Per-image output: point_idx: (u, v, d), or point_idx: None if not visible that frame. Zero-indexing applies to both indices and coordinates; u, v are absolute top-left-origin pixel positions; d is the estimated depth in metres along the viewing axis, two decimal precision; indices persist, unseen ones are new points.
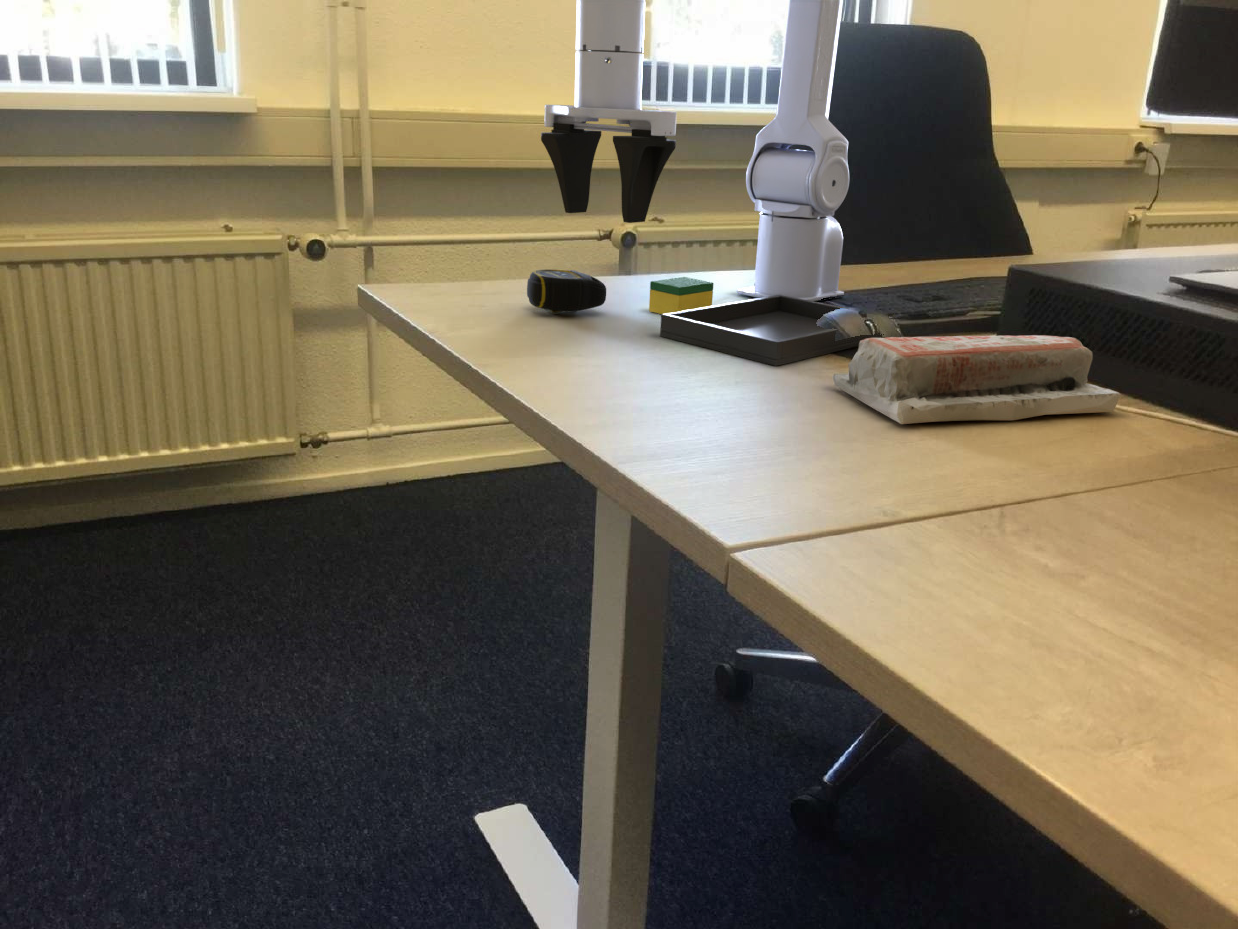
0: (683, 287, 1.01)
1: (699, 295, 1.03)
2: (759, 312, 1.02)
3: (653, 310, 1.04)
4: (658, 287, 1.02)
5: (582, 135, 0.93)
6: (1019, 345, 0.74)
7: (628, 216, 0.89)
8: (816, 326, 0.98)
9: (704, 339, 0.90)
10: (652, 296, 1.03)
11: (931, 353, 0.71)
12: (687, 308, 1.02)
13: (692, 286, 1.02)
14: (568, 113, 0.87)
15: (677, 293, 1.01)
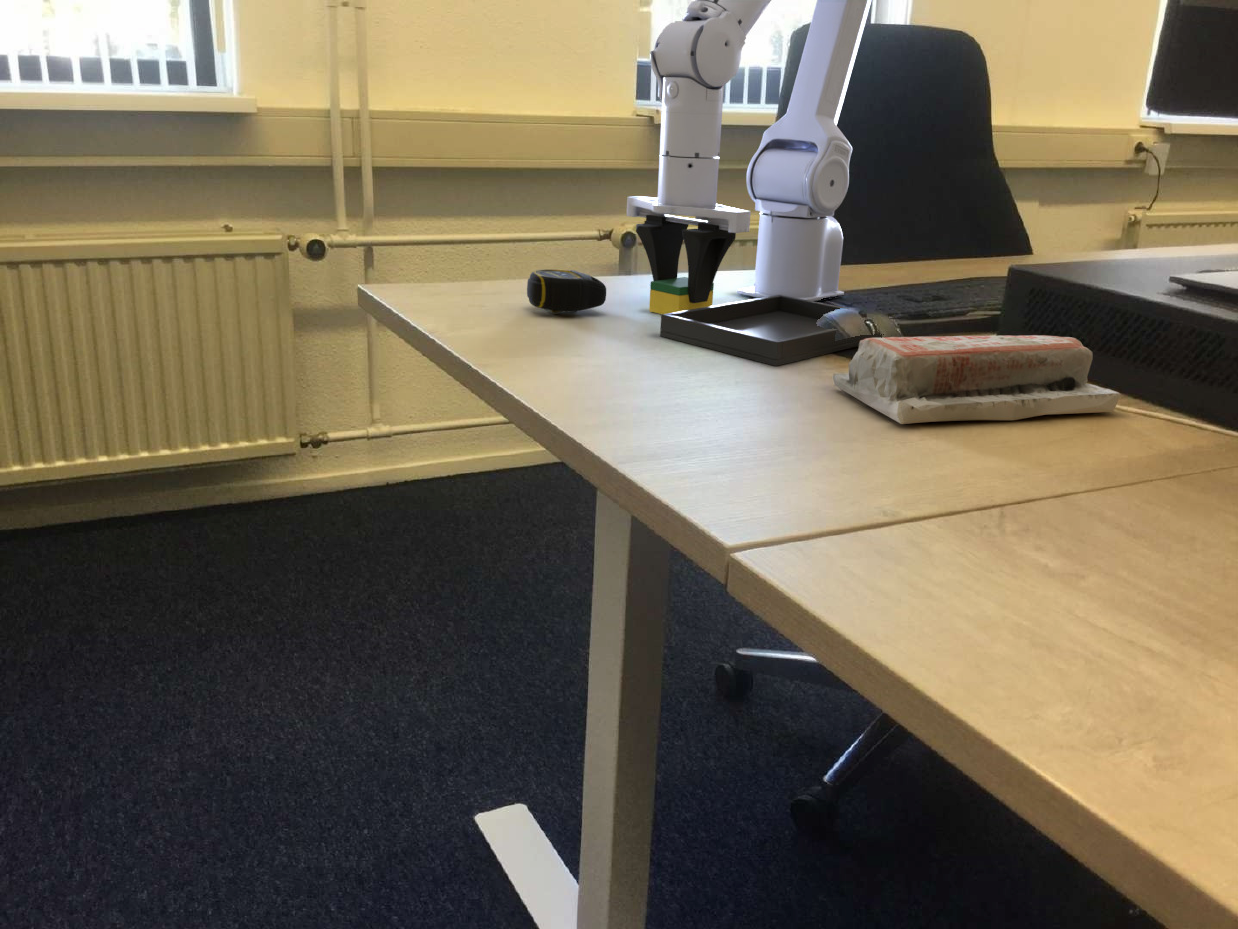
0: (683, 287, 1.01)
1: None
2: (759, 312, 1.02)
3: (653, 310, 1.04)
4: (658, 287, 1.02)
5: (672, 226, 1.03)
6: (1019, 345, 0.74)
7: (693, 297, 1.01)
8: (816, 326, 0.98)
9: (704, 339, 0.90)
10: (652, 296, 1.03)
11: (931, 353, 0.71)
12: (687, 308, 1.02)
13: None
14: (653, 210, 0.99)
15: (677, 293, 1.01)
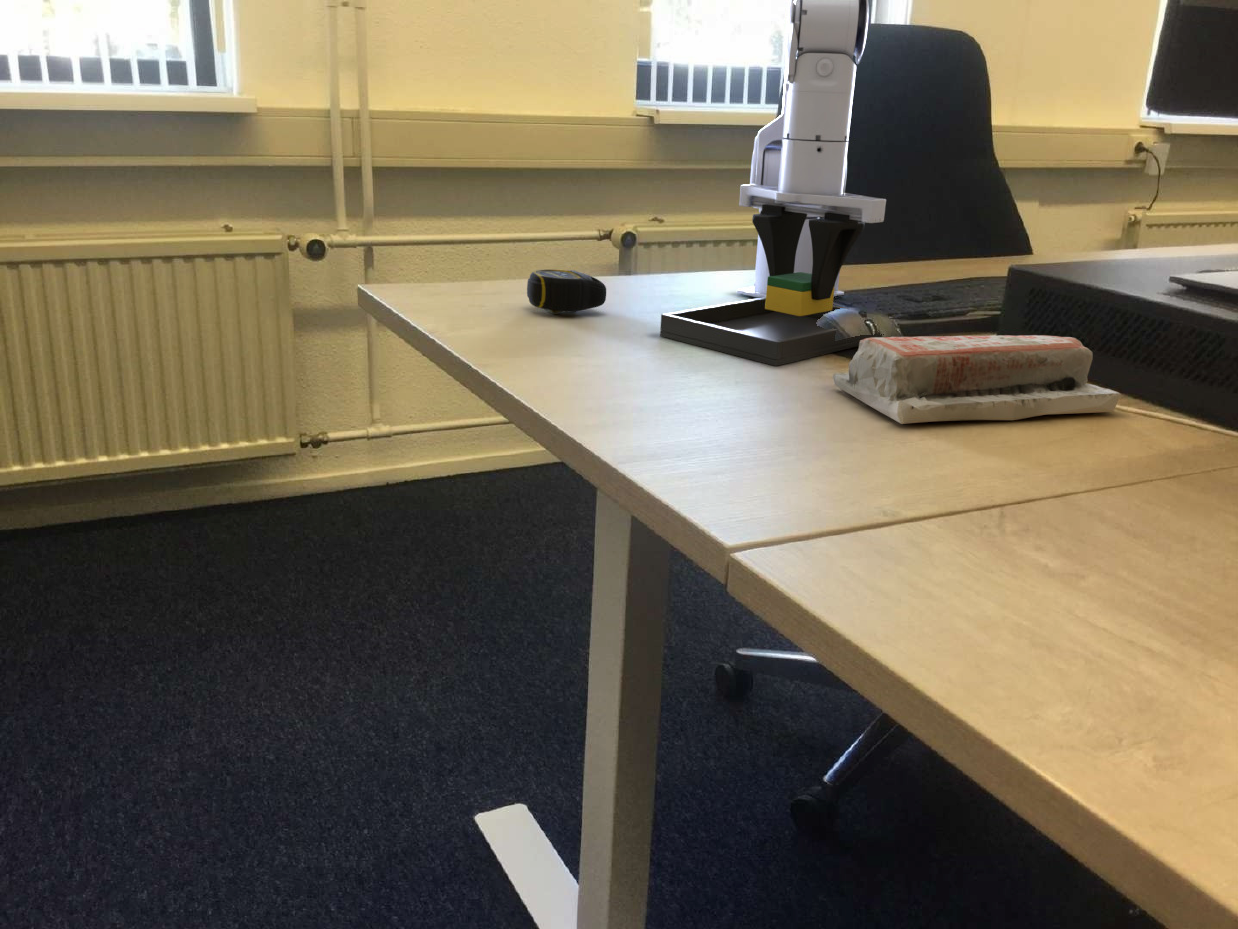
0: (806, 283, 0.93)
1: None
2: (759, 312, 1.02)
3: (770, 308, 0.95)
4: (777, 283, 0.94)
5: (791, 217, 0.95)
6: (1019, 345, 0.74)
7: (817, 294, 0.93)
8: (816, 326, 0.98)
9: (704, 339, 0.90)
10: (769, 293, 0.95)
11: (931, 353, 0.71)
12: (809, 306, 0.94)
13: None
14: (777, 199, 0.91)
15: (800, 289, 0.93)
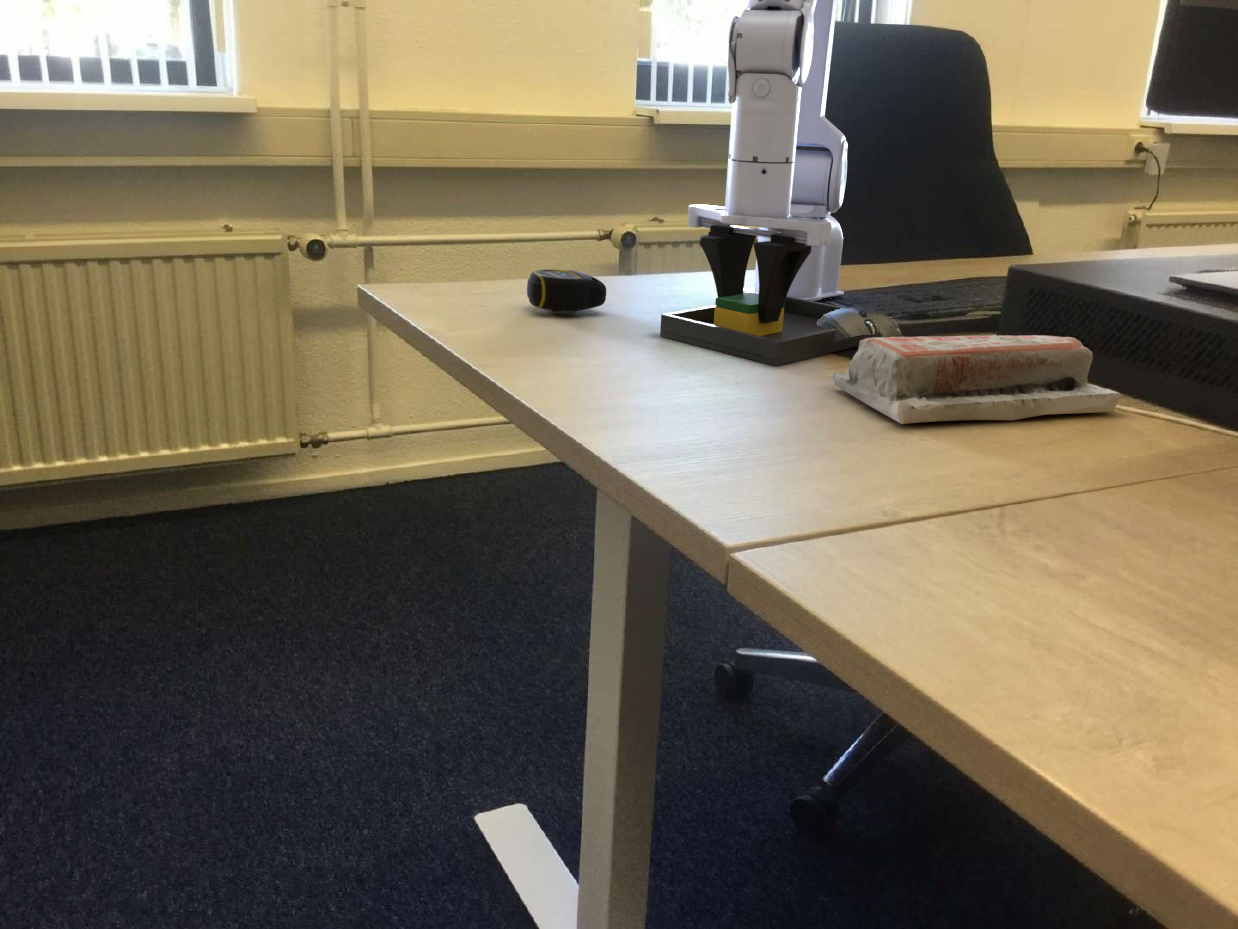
0: (753, 305, 0.91)
1: None
2: None
3: None
4: (725, 304, 0.93)
5: (739, 238, 0.94)
6: (1019, 345, 0.74)
7: (764, 317, 0.92)
8: (816, 326, 0.98)
9: (704, 339, 0.90)
10: (717, 314, 0.94)
11: (931, 353, 0.71)
12: (757, 328, 0.92)
13: None
14: (722, 221, 0.89)
15: (747, 311, 0.91)
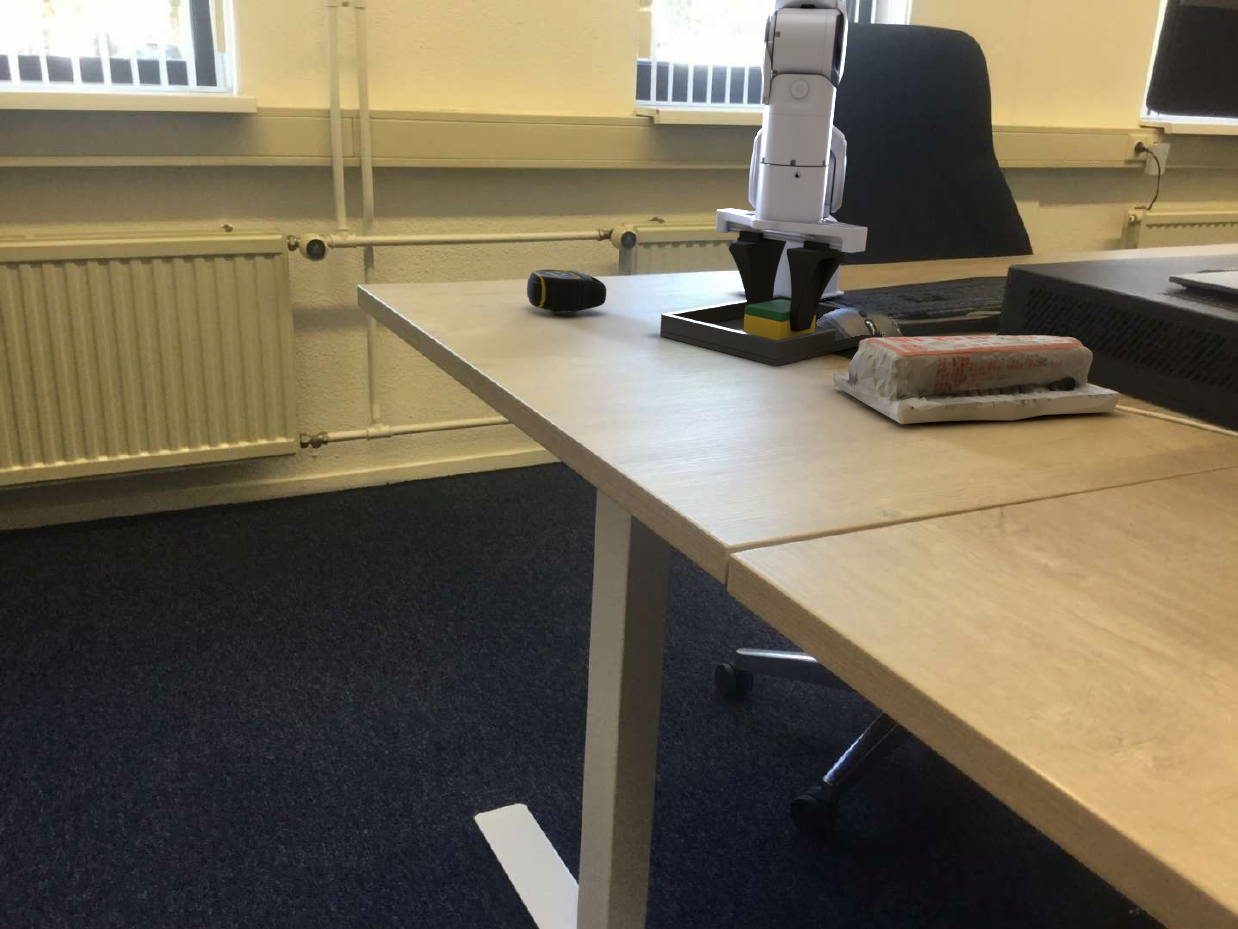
0: (785, 312, 0.88)
1: None
2: None
3: None
4: (755, 312, 0.90)
5: (770, 244, 0.91)
6: (1019, 345, 0.74)
7: (796, 325, 0.89)
8: (816, 326, 0.98)
9: (704, 339, 0.90)
10: (747, 322, 0.91)
11: (931, 353, 0.71)
12: (789, 336, 0.89)
13: None
14: (753, 226, 0.86)
15: (779, 319, 0.88)
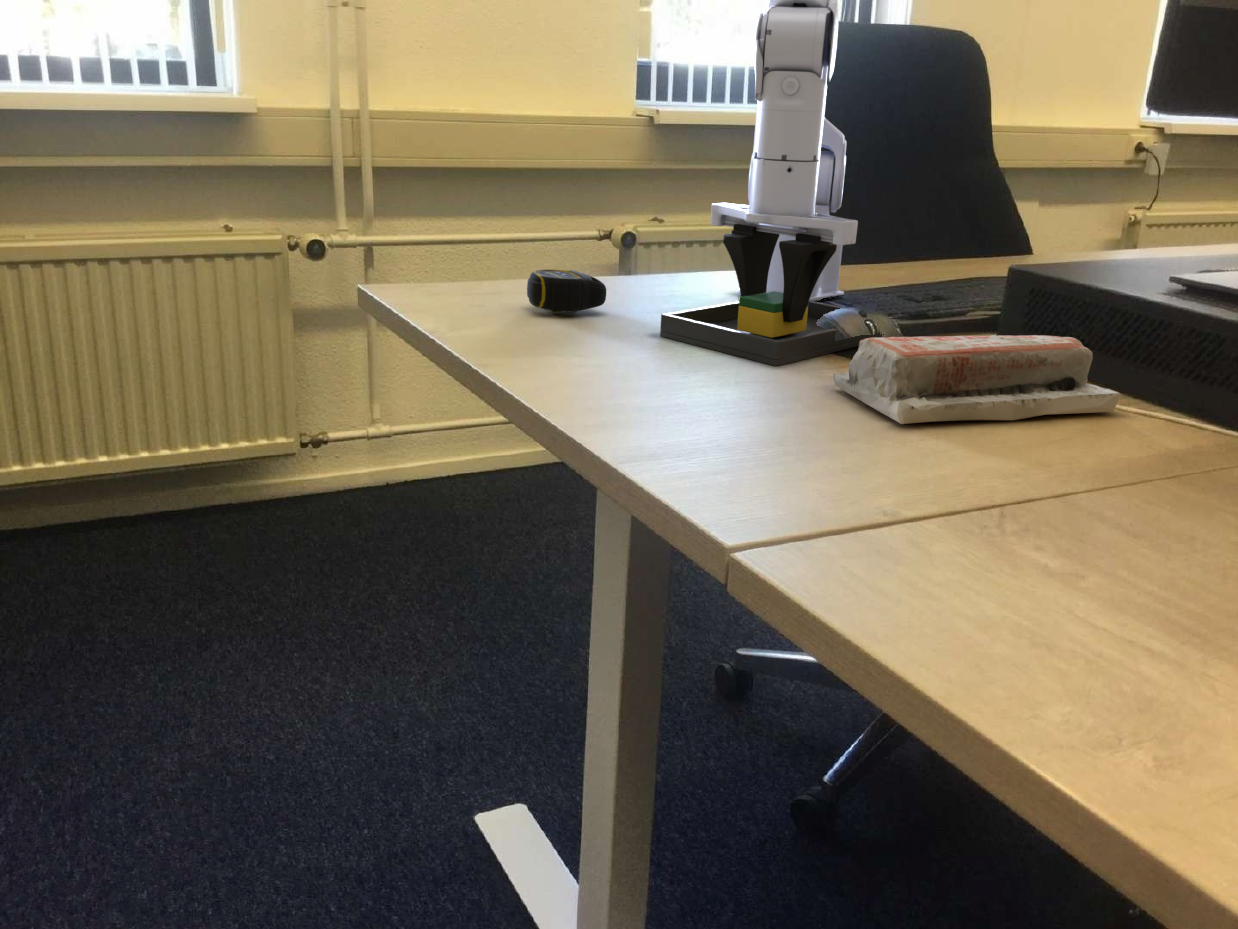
0: (778, 303, 0.91)
1: None
2: None
3: (742, 329, 0.93)
4: (749, 303, 0.92)
5: (763, 237, 0.93)
6: (1019, 345, 0.74)
7: (788, 316, 0.91)
8: (816, 326, 0.98)
9: (704, 339, 0.90)
10: (741, 313, 0.93)
11: (931, 353, 0.71)
12: (781, 327, 0.92)
13: None
14: (746, 219, 0.88)
15: (772, 310, 0.90)
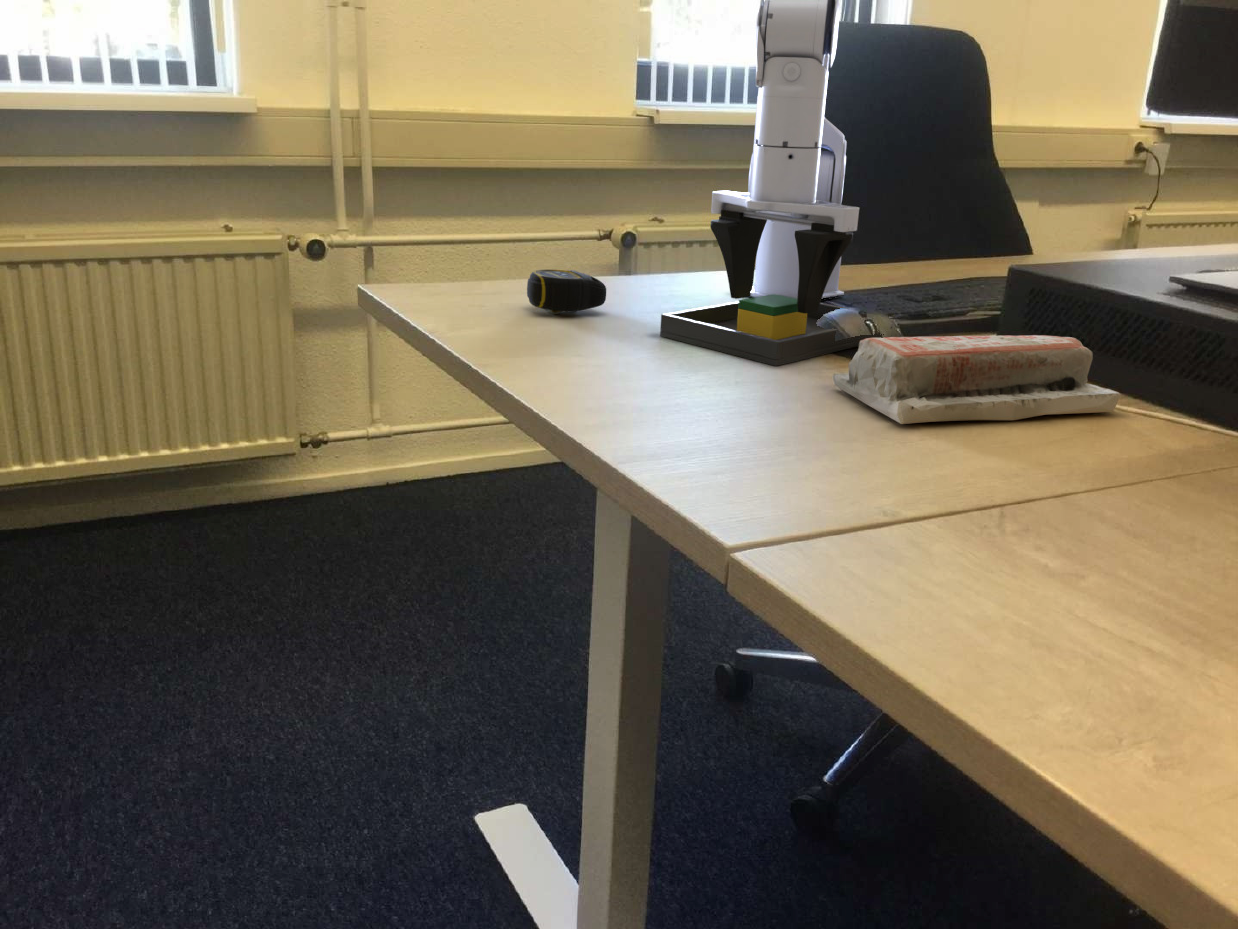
0: (778, 307, 0.91)
1: (793, 315, 0.92)
2: None
3: None
4: (748, 306, 0.92)
5: (750, 222, 0.94)
6: (1019, 345, 0.74)
7: (804, 307, 0.90)
8: (816, 326, 0.98)
9: (704, 339, 0.90)
10: (741, 316, 0.93)
11: (931, 353, 0.71)
12: (781, 330, 0.92)
13: (787, 305, 0.92)
14: (747, 207, 0.88)
15: (771, 313, 0.91)
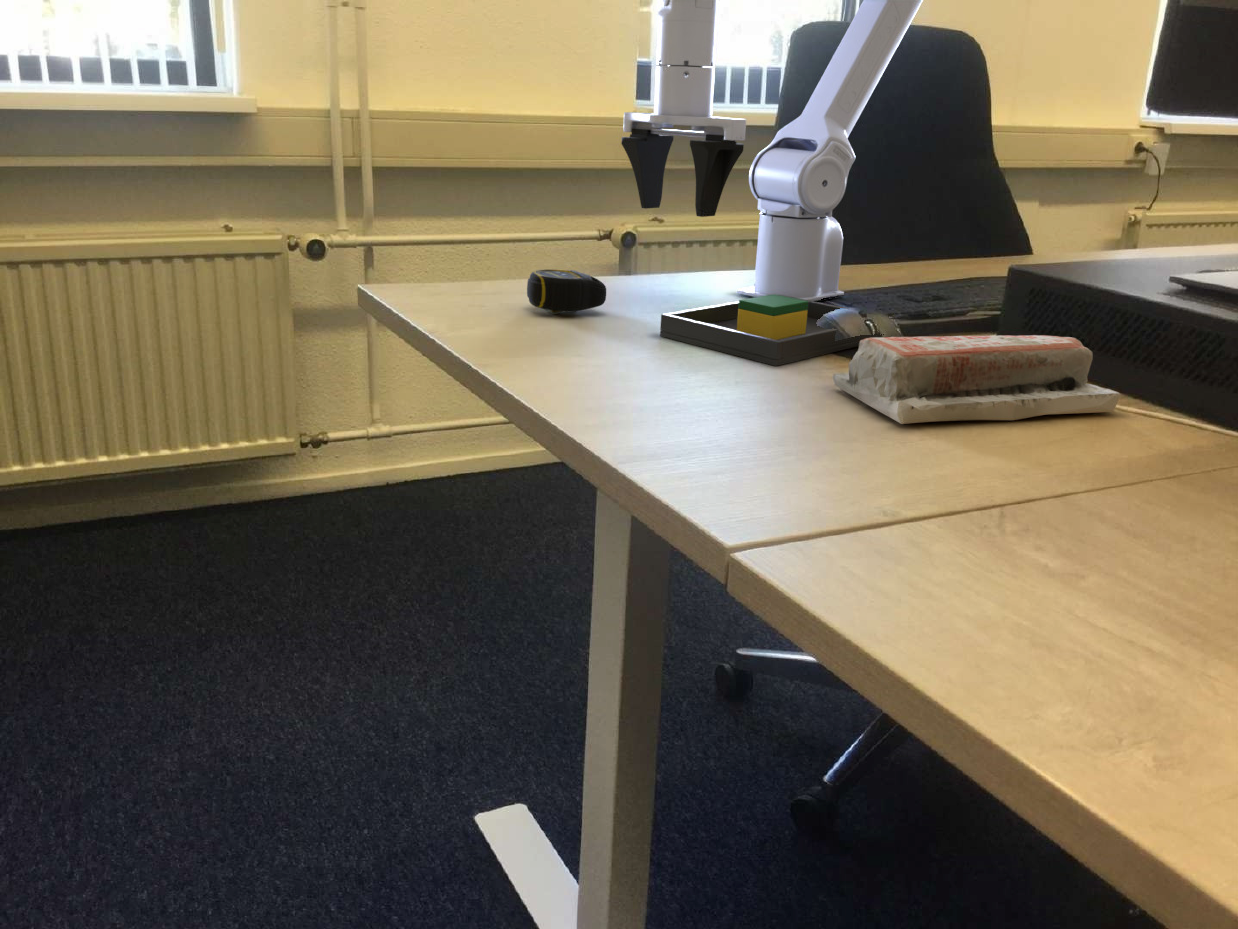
0: (778, 307, 0.91)
1: (793, 315, 0.92)
2: None
3: None
4: (748, 306, 0.92)
5: (657, 139, 1.05)
6: (1019, 345, 0.74)
7: (701, 211, 1.01)
8: (816, 326, 0.98)
9: (704, 339, 0.90)
10: (741, 316, 0.93)
11: (931, 353, 0.71)
12: (781, 330, 0.92)
13: (787, 305, 0.92)
14: (649, 120, 0.99)
15: (771, 313, 0.91)
